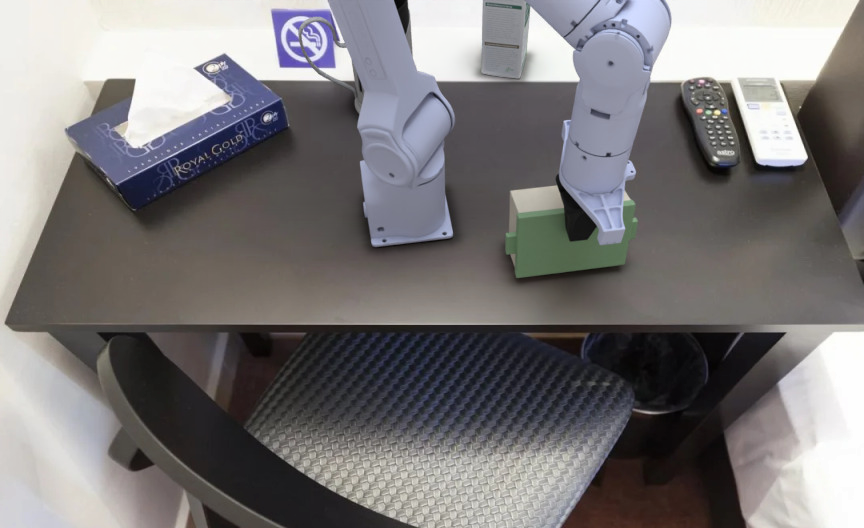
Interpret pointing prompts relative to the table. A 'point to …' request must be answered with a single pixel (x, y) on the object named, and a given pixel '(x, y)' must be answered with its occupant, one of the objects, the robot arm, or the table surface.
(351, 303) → the table surface
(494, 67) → the syrup box
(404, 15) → the glass holder
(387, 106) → the robot arm
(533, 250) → the lunchbox
